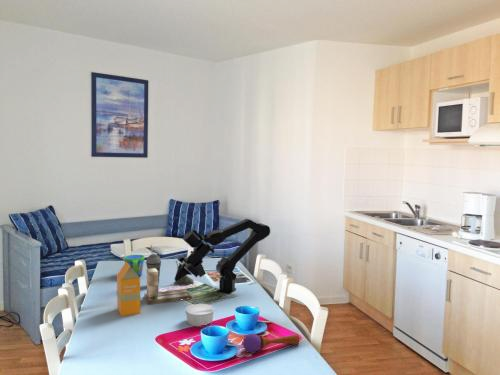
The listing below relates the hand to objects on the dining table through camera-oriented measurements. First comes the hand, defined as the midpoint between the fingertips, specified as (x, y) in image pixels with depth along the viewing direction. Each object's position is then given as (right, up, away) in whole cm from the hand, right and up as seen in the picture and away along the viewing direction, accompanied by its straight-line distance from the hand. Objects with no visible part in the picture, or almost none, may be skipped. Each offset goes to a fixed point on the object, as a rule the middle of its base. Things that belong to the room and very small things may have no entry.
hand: (175, 280), depth 192 cm
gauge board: (-3, -8, -1) cm, 8 cm away
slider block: (-9, -6, -4) cm, 12 cm away
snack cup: (-27, -5, +33) cm, 43 cm away
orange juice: (-16, -9, -17) cm, 25 cm away
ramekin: (+14, -10, -27) cm, 32 cm away
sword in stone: (+1, -6, +22) cm, 23 cm away
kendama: (+41, -13, -48) cm, 64 cm away
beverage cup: (-13, -6, +16) cm, 22 cm away
